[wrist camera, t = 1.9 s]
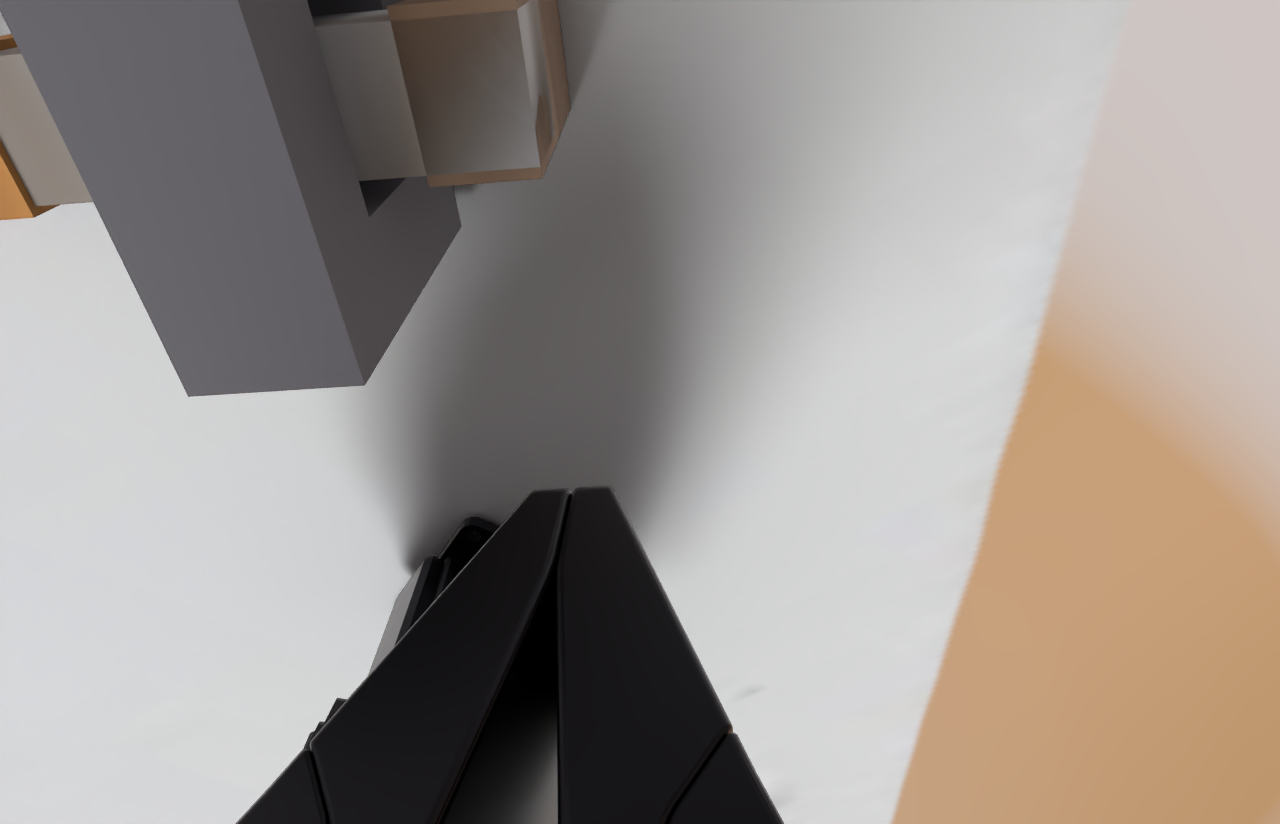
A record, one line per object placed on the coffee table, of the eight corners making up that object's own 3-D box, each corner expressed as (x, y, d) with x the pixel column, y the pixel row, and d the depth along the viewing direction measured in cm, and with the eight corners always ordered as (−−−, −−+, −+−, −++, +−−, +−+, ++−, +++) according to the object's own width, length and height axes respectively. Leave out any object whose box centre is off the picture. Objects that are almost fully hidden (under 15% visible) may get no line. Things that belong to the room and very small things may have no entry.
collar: (378, -156, 14) (167, -212, 8) (461, 226, 19) (364, 385, 12) (228, -140, 15) (-95, -184, 8) (343, 234, 19) (188, 396, 12)
